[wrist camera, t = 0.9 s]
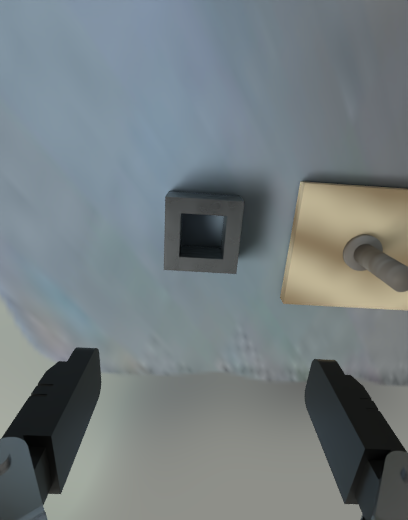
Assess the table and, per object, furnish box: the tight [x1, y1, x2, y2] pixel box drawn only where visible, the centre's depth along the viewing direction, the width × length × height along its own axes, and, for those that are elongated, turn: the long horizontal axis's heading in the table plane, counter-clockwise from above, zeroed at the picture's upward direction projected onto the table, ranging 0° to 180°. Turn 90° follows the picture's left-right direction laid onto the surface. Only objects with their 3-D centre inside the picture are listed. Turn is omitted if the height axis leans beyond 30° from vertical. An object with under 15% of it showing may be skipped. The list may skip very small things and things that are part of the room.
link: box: [164, 191, 244, 274], centre depth 25 cm, size 6×6×3 cm
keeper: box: [280, 181, 408, 310], centre depth 24 cm, size 11×12×7 cm
